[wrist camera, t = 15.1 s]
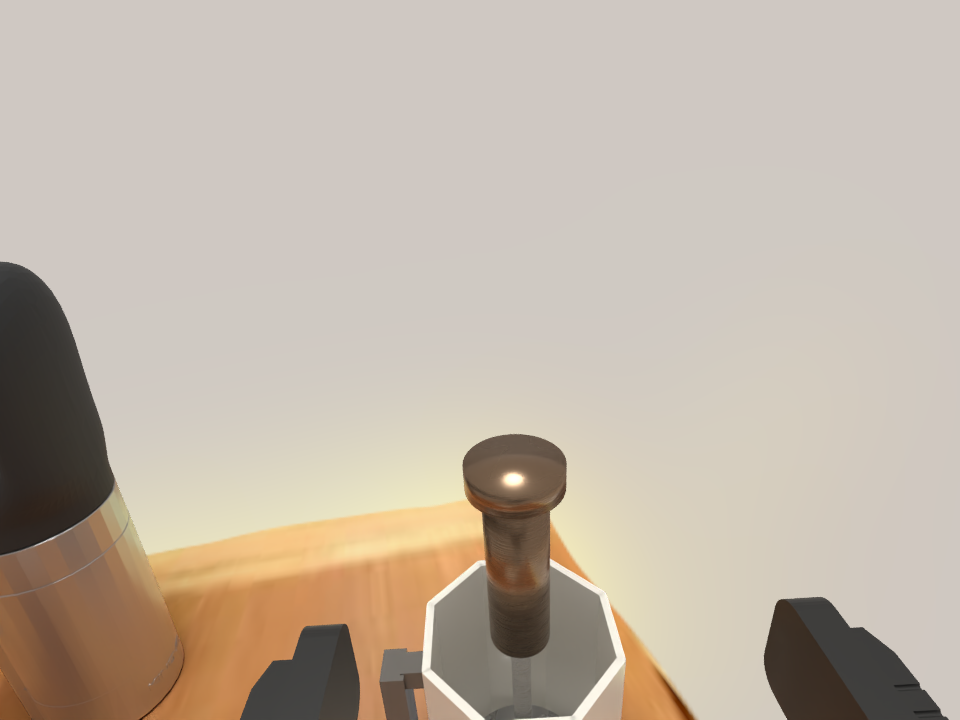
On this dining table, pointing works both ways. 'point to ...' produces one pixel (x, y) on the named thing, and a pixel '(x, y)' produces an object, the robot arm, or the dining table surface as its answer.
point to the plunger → (517, 549)
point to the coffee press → (488, 672)
